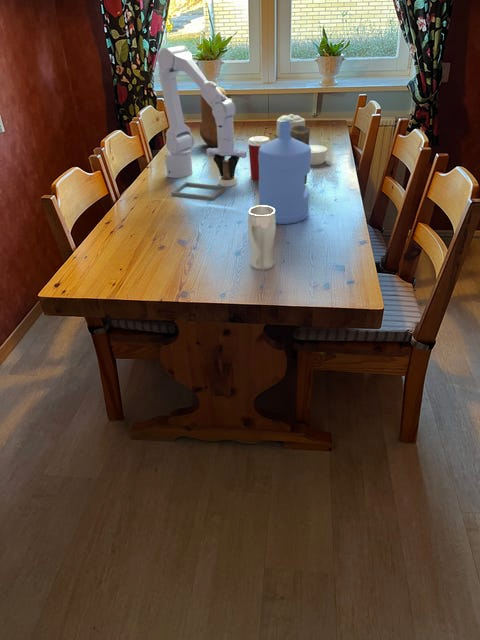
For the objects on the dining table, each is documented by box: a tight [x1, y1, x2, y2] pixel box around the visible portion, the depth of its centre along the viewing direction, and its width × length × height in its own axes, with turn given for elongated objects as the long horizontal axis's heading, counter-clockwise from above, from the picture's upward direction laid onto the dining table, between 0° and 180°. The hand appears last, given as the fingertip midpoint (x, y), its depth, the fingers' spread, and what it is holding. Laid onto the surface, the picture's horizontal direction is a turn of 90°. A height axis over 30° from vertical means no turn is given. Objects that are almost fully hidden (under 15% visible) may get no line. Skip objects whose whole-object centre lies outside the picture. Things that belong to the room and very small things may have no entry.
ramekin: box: [309, 144, 329, 166], centre depth 200 cm, size 11×11×5 cm
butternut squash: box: [199, 85, 227, 148], centre depth 218 cm, size 14×13×25 cm
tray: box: [171, 181, 227, 201], centre depth 174 cm, size 16×11×2 cm
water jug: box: [258, 121, 311, 225], centre depth 149 cm, size 16×16×28 cm
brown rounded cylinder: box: [290, 125, 311, 185], centre depth 173 cm, size 8×7×20 cm
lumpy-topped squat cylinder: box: [276, 113, 306, 138], centre depth 234 cm, size 10×13×9 cm
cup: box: [218, 175, 238, 187], centre depth 181 cm, size 6×6×3 cm
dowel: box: [222, 159, 232, 180], centre depth 179 cm, size 3×3×8 cm
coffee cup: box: [247, 135, 271, 182], centre depth 181 cm, size 8×8×15 cm
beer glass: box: [247, 205, 277, 271], centre depth 126 cm, size 7×7×15 cm
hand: (227, 176), depth 179 cm, fingers closed on dowel, 3 cm apart
